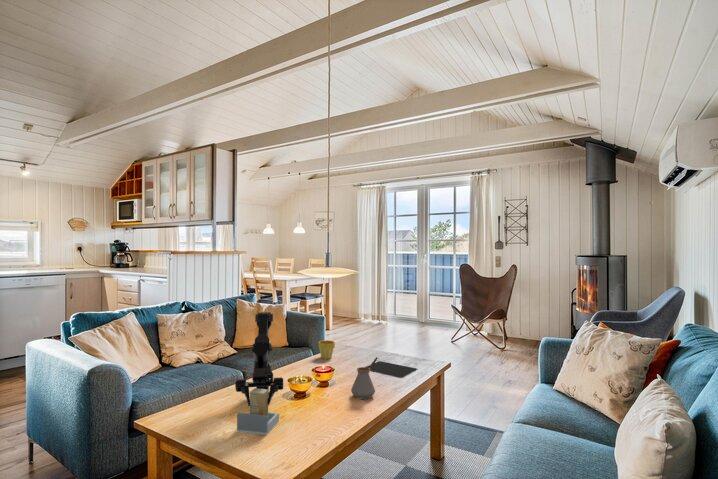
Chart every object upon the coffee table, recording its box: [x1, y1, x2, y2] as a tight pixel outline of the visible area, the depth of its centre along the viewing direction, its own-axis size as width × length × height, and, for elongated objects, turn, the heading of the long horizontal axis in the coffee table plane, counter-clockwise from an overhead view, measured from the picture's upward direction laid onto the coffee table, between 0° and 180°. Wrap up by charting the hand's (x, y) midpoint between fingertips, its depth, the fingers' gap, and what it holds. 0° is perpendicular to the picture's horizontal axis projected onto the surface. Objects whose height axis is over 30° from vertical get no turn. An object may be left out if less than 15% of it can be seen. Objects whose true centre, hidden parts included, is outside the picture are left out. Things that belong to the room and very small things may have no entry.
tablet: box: [365, 360, 419, 379], centre depth 233 cm, size 27×1×20 cm
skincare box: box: [248, 387, 270, 416], centre depth 157 cm, size 6×4×12 cm
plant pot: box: [318, 339, 336, 360], centre depth 255 cm, size 10×10×10 cm
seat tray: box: [236, 411, 280, 436], centre depth 157 cm, size 12×12×7 cm
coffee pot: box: [350, 357, 380, 400], centre depth 195 cm, size 21×12×15 cm, turn 152°
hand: (258, 405), depth 156 cm, fingers closed on skincare box, 7 cm apart
